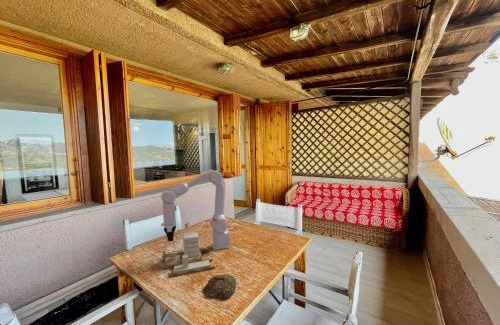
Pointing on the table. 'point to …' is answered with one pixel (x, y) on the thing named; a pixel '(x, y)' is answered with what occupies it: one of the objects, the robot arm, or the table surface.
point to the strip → (190, 265)
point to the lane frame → (194, 269)
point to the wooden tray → (176, 259)
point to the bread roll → (220, 287)
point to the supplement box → (191, 244)
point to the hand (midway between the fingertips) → (170, 240)
